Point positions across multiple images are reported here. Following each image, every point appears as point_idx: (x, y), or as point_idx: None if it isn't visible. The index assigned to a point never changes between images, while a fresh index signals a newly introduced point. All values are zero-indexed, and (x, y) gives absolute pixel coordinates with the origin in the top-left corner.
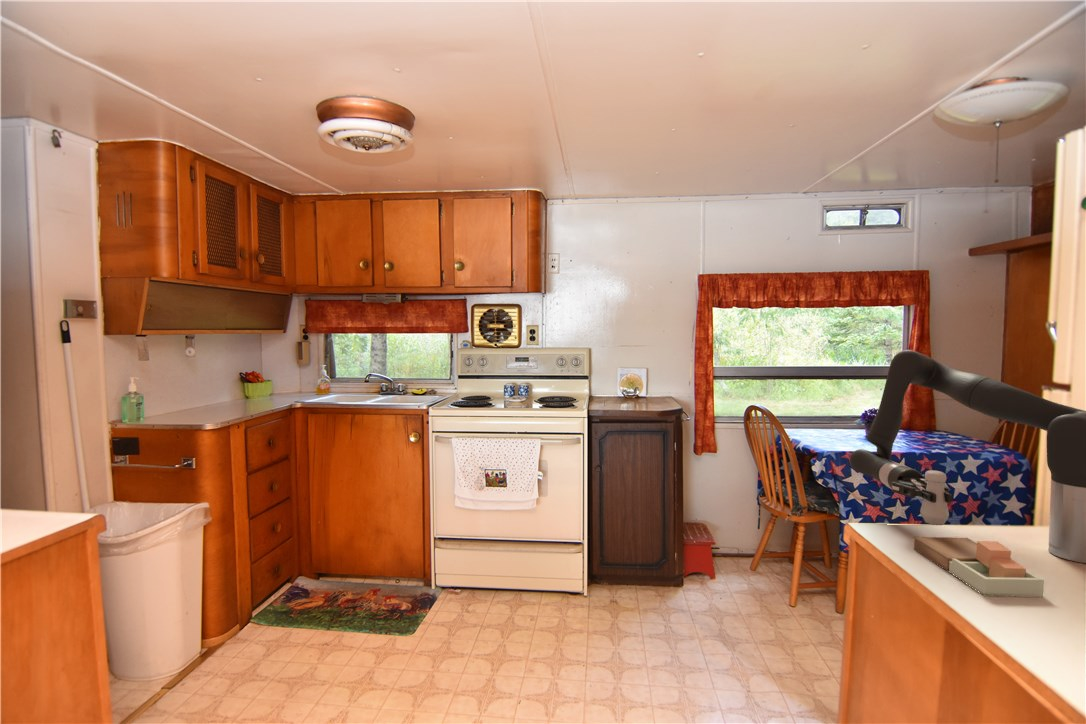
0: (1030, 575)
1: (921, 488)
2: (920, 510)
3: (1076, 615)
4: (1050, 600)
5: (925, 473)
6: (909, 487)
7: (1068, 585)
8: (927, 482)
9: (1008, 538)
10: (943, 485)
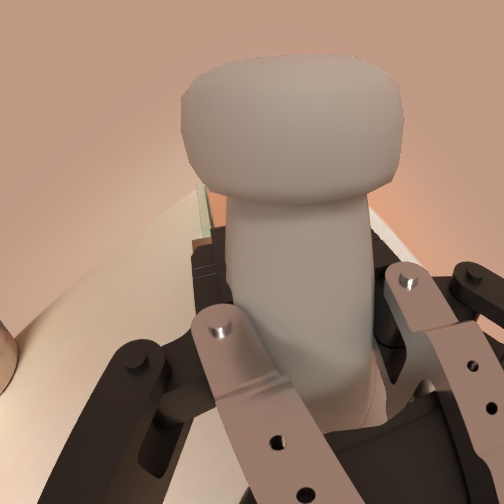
0: (204, 191)
1: (411, 270)
2: (374, 389)
3: (196, 189)
4: (198, 206)
5: (398, 95)
6: (495, 275)
7: (125, 249)
8: (320, 473)
9: (16, 481)
10: (228, 203)
